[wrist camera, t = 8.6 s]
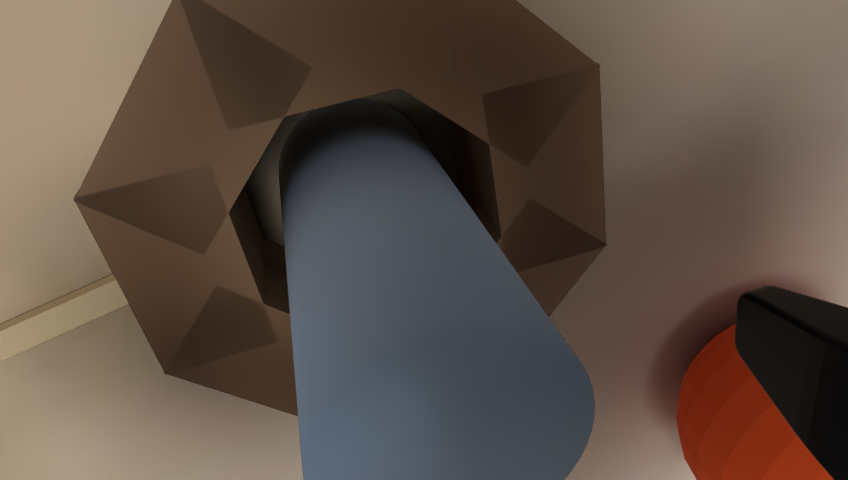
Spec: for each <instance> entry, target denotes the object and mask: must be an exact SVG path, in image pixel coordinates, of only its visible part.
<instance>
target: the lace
mask: <svg viewBox="0 0 848 480" xmlns="http://www.w3.org/2000/svg"><path fill="white" fill-rule="evenodd" d="M127 304H129V303H128V301H127V300H126V298H125V296H124V294H123V292H122V290H121V288H120V286H119V284H118V282H117V280H116V279H115V277H114V275H113V274H112V275H110V276H107V277H105V278H103V279H101V280H99V281H96V282H94V283H92V284H90V285H87V286H85V287H83V288H81V289H78V290H76V291H74V292H72V293H69V294H67V295H65V296H63V297H60V298H58V299H56V300H54V301H51V302H49V303H47V304H45V305H42V306H40V307H38V308H36V309H34V310H31V311H29V312H27V313H25V314H22V315H20V316H18V317H16V318H13V319H11V320H9V321H7V322H4V323H2V324H0V361H2V360H4V359H7V358H9V357H11V356H13V355H16V354H18V353H20V352H22V351H25V350H27V349H29V348H31V347H33V346H36V345H38V344H40V343H42V342H45V341H47V340H49V339H51V338H54V337H56V336H58V335H60V334H63V333H65V332H67V331H69V330H71V329H74V328H76V327H78V326H80V325H83V324H85V323H87V322H89V321H92V320H94V319H96V318H98V317H100V316H103V315H105V314H107V313H109V312H112V311H114V310H116V309H118V308H121V307H123V306H125V305H127Z"/></svg>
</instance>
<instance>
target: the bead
mask: <svg viewBox="0 0 848 480" xmlns="http://www.w3.org/2000/svg"><path fill="white" fill-rule="evenodd" d="M599 68H600V66H599V64H597V63H595V62H594V61H593V60H591V59H590V58H589V57H587V56H586V55H585V54H584V53H582V52H581V51H580V50H578V49H577V48H576V47H575V46H573V45H572V44H571V43H570V42H568V41H567V40H566V39H564V38H563V37H562V36H561V35H559V34H558V33H557V32H555V31H554V30H553V29H552V28H550V27H549V26H548V25H546V24H545V23H544V22H543V21H541V20H540V19H539V18H538V17H536V16H535V15H534V14H532V13H531V12H530V11H529V10H527V9H526V8H525V7H523V6H522V5H521V4H520V3H518V2H517V1H516V0H172V2H171V4H170V6H169V8H168V10H167V12H166V14H165V16H164V18H163V20H162V22H161V24H160V26H159V28H158V30H157V32H156V35H155V37H154V39H153V41H152V43H151V45H150V47H149V49H148V51H147V53H146V55H145V57H144V59H143V61H142V63H141V65H140V67H139V69H138V71H137V73H136V75H135V77H134V79H133V81H132V83H131V85H130V87H129V89H128V92H127V94H126V96H125V98H124V100H123V102H122V104H121V106H120V108H119V110H118V112H117V114H116V116H115V118H114V120H113V122H112V124H111V126H110V128H109V130H108V132H107V134H106V136H105V138H104V140H103V142H102V144H101V146H100V149H99V151H98V153H97V155H96V157H95V159H94V161H93V163H92V165H91V167H90V169H89V171H88V173H87V175H86V177H85V179H84V181H83V183H82V185H81V187H80V189H79V191H78V192H77V194H76V195H75V197H74V202H76V204H77V206H78V208H79V210H80V212H81V214H82V215H83V217H84V219H85V221H86V223H87V225H88V227H89V229H90V231H91V233H92V235H93V236H94V238H95V240H96V242H97V244H98V246H99V248H100V250H101V252H102V254H103V256H104V257H105V259H106V261H107V263H108V265H109V267H110V269H111V271H112V273H113V275H114V277H115V279H116V280H117V282H118V284H119V286H120V288H121V290H122V292H123V294H124V296H125V298H126V300H127V301H128V303H129V305H130V307H131V309H132V311H133V313H134V315H135V317H136V319H137V321H138V322H139V324H140V326H141V328H142V330H143V332H144V334H145V336H146V338H147V340H148V342H149V343H150V345H151V347H152V349H153V351H154V353H155V355H156V357H157V359H158V361H159V363H160V364H161V366H162V368H163V370H164V373H165V374H168V375H171V376H175V377H178V378H181V379H184V380H187V381H190V382H193V383H196V384H199V385H203V386H206V387H209V388H212V389H215V390H218V391H221V392H224V393H227V394H231V395H234V396H237V397H240V398H243V399H246V400H249V401H252V402H255V403H259V404H262V405H265V406H268V407H271V408H274V409H277V410H280V411H283V412H287V413H290V414H293V415H296V416H298V408H297V395H296V383H295V370H294V358H293V345H292V333H291V320H290V308H289V296H288V283H287V271H286V258H285V247H283V246H281V245H278V244H276V243H274V242H272V241H270V240H267V239H265V238H263V237H262V234H261V232H260V229H259V226H258V223H257V221H256V218H255V215H254V212H253V210H252V207H251V204H250V201H249V199H248V196H247V193H246V190H245V188H244V185H245V184H246V182H247V180H248V178H249V177H250V175H251V173H252V172H253V170H254V168H255V166H256V165H257V163H258V161H259V159H260V158H261V156H262V154H263V153H264V151H265V149H266V147H267V146H268V144H269V142H270V140H271V139H272V137H273V135H274V134H275V132H276V130H277V128H278V127H279V125H280V123H281V122H282V120H283V118H284V117H285V116H289V115H293V114H297V113H301V112H305V111H309V110H313V109H317V108H321V107H325V106H329V105H333V104H337V103H341V102H345V101H349V100H353V99H357V98H361V97H365V96H369V95H373V94H377V93H381V92H385V91H389V90H393V89H397V88H401V89H402V90H404V91H406V92H407V93H409V94H410V95H412V96H414V97H415V98H417V99H418V100H420V101H422V102H423V103H425V104H426V105H428V106H429V107H431V108H433V109H434V110H436V111H437V112H439V113H441V114H442V115H444V116H445V117H447V118H449V119H450V120H452V124H453V130H454V136H455V142H456V148H457V154H458V161H459V167H460V173H461V179H462V184H461V186H460V187H459V189H458V190H459V192H460V193H461V195H462V196H463V197H464V199H465V200H466V202H467V203H468V204H469V206H470V207H471V209H472V210H473V212H474V213H475V214H476V216H477V217H478V219H479V220H480V221H481V223H482V224H483V226H484V227H485V228H486V230H487V231H488V233H489V234H490V235H491V237H492V238H493V240H494V241H495V242H496V244H497V245H498V247H499V248H500V250H501V251H502V252H503V254H504V255H505V257H506V258H507V259H508V261H509V262H510V264H511V265H512V266H513V268H514V269H515V271H516V272H517V273H518V275H519V276H520V278H521V279H522V281H523V282H524V283H525V285H526V286H527V288H528V289H529V290H530V292H531V293H532V295H533V296H534V297H535V299H536V300H537V302H538V303H539V304H540V306H541V307H542V309H543V310H544V312H545V313H546V314H547V316H548V317H549V316H550V314H551V313H552V312H553V311H554V309H555V308H556V307H557V306H558V304H559V303H560V302H561V301H562V299H563V298H564V297H565V296H566V294H567V293H568V292H569V291H570V289H571V288H572V287H573V286H574V284H575V283H576V282H577V281H578V280H579V278H580V277H581V276H582V275H583V273H584V272H585V271H586V270H587V268H588V267H589V266H590V265H591V263H592V262H593V261H594V260H595V258H596V257H597V256H598V255H599V253H600V252H601V251H602V250H603V248H604V247H606V245H607V244H606V233H605V206H604V179H603V152H602V124H601V97H600V70H599Z"/></svg>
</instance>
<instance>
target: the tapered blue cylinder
mask: <svg viewBox="0 0 848 480" xmlns="http://www.w3.org/2000/svg"><path fill="white" fill-rule="evenodd" d="M279 183H280V196H281V208H282V221H283V233H284V246H285V258H286V271H287V283H288V296H289V308H290V320H291V333H292V345H293V358H294V370H295V383H296V395H297V408H298V420H299V433H300V445H301V458H302V469H303V478H304V480H564V479H565V478H566V477H567V476H568V474H569V473H570V472H571V471H572V469H573V468H574V466H575V465H576V463H577V461H578V460H579V458H580V457H581V455H582V453H583V451H584V449H585V447H586V445H587V442H588V439H589V436H590V433H591V430H592V425H593V420H594V406H595V402H594V395H593V388H592V385H591V382H590V379H589V376H588V374H587V373H586V371H585V369H584V367H583V365H582V364H581V362H580V361H579V359H578V358H577V357H576V355H575V354H574V352H573V351H572V350H571V348H570V347H569V345H568V344H567V343H566V341H565V340H564V338H563V337H562V335H561V334H560V333H559V331H558V330H557V328H556V327H555V326H554V324H553V323H552V321H551V320H550V319H549V317H548V316H547V314H546V313H545V312H544V310H543V309H542V307H541V306H540V304H539V303H538V302H537V300H536V299H535V297H534V296H533V295H532V293H531V292H530V290H529V289H528V288H527V286H526V285H525V283H524V282H523V281H522V279H521V278H520V276H519V275H518V273H517V272H516V271H515V269H514V268H513V266H512V265H511V264H510V262H509V261H508V259H507V258H506V257H505V255H504V254H503V252H502V251H501V250H500V248H499V247H498V245H497V244H496V242H495V241H494V240H493V238H492V237H491V235H490V234H489V233H488V231H487V230H486V228H485V227H484V226H483V224H482V223H481V221H480V220H479V219H478V217H477V216H476V214H475V213H474V212H473V210H472V209H471V207H470V206H469V204H468V203H467V202H466V200H465V199H464V197H463V196H462V195H461V193H460V192H459V190H458V189H457V188H456V186H455V185H454V183H453V182H452V181H451V179H450V178H449V176H448V175H447V173H446V172H445V171H444V169H443V168H442V166H441V165H440V164H439V162H438V161H437V159H436V158H435V157H434V155H433V154H432V152H431V151H430V150H429V148H428V147H427V145H426V144H425V142H424V141H423V140H422V138H421V137H420V135H419V134H418V133H417V131H416V130H415V128H414V127H413V126H412V125H411V123H410V122H409V121H408V120H407V119H406V118H405V117H404V116H403V115H401V114H400V113H399V112H397V111H396V110H394V109H393V108H391V107H389V106H387V105H385V104H382V103H379V102H376V101H372V100H367V99H353V100H349V101H345V102H341V103H337V104H333V105H329V106H325V107H321V108H317V109H315V110H314V111H312V112H311V113H309V114H308V115H306V116H305V117H304V118H303V119H302V120H301V121H300V122H299V123H298V124H297V125H296V126H295V127H294V128H293V130H292V131H291V133H290V134H289V136H288V137H287V139H286V141H285V143H284V146H283V149H282V152H281V155H280V161H279Z"/></svg>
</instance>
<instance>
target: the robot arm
mask: <svg viewBox="0 0 848 480" xmlns="http://www.w3.org/2000/svg"><path fill="white" fill-rule="evenodd" d="M734 340H735V346H736V349H737V351H738V353H739V355H740V357H741V358H742V360H743V361H744V362H745V364H746V365H747V367H748V368H749V369H750V371H751V372H752V374H753V375H754V376H755V378H756V379H757V381H758V382H759V383H760V385H761V386H762V388H763V389H764V390H765V392H766V393H767V395H768V396H769V397H770V399H771V400H772V401H773V403H774V404H775V406H776V407H777V408H778V410H779V411H780V413H781V414H782V415H783V417H784V418H785V420H786V421H787V422H788V424H789V425H790V427H791V428H792V429H793V431H794V432H795V433H796V435H797V436H798V437H799V439H800V440H801V441H802V443H803V444H804V445H805V446H806V448H807V449H808V450H809V451H810V452H811V454H812V455H813V456H814V457H815V458H816V460H817V461H818V462H819V463H820V464H821V465H822V467H823V468H824V469H825V470H826V471H827V472H828V473H829V475H830V476H831V477H832V478H833V479H834V480H848V308H847V307H844V306H840V305H837V304H833V303H830V302H827V301H823V300H820V299H816V298H813V297H809V296H806V295H802V294H799V293H795V292H792V291H789V290H785V289H782V288H778V287H774V286H764V287H761V288H757V289H754V290H751V291H748V292H745V293H743V294H742V295H741V296H740V298H739V299H738V304H737V314H736V325H735V336H734Z"/></svg>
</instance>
